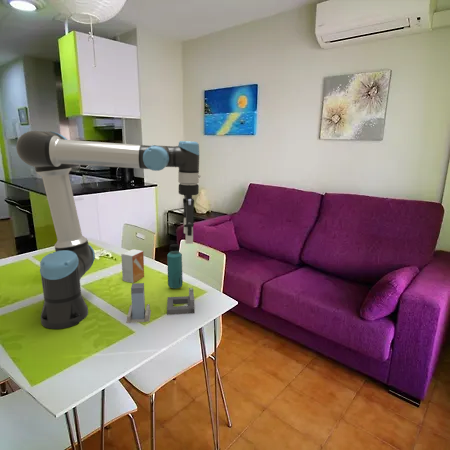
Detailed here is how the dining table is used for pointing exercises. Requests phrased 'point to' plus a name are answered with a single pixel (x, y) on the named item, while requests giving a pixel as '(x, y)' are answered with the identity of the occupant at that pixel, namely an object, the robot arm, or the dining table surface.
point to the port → (181, 300)
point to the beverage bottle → (174, 267)
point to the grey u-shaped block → (146, 319)
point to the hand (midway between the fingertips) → (188, 238)
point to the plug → (138, 300)
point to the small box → (132, 265)
